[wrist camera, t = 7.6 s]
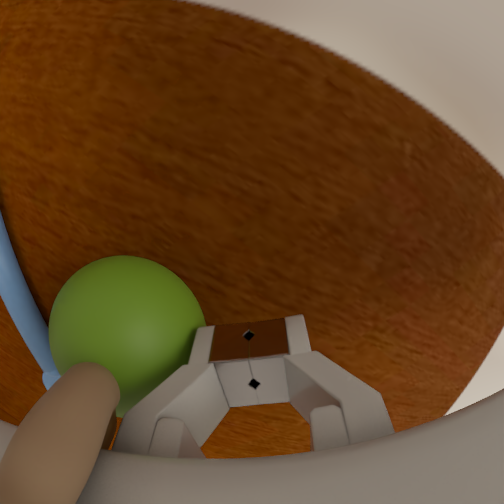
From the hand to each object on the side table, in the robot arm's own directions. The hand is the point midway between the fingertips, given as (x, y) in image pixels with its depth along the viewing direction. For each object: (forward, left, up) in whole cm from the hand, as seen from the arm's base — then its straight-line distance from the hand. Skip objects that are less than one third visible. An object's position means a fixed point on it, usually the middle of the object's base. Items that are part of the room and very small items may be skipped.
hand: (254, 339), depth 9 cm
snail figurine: (+4, -1, -3) cm, 5 cm away
